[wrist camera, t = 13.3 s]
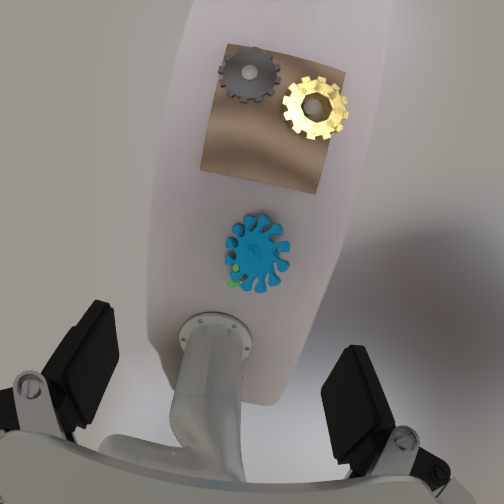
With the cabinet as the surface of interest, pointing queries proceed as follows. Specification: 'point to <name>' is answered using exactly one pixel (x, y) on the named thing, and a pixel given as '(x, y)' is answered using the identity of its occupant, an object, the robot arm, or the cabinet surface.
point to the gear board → (264, 120)
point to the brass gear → (329, 102)
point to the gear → (256, 255)
